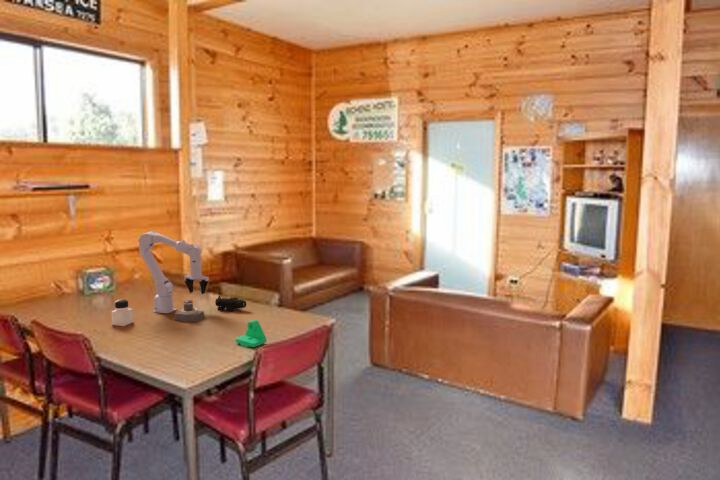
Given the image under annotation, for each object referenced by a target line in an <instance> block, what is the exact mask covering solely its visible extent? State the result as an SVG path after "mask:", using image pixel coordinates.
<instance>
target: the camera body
mask: <svg viewBox="0 0 720 480" xmlns="http://www.w3.org/2000/svg"><path fill="white" fill-rule="evenodd" d="M202 319H205V311H203V310H198V308H197V307H193V311H184V308H182V309H180V311H178V312H175V313H174V321H177V322H178V321H179V322H189V323H197V322H198V321H201V320H202Z"/></svg>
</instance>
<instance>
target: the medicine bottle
mask: <svg viewBox="0 0 720 480" xmlns="http://www.w3.org/2000/svg"><path fill="white" fill-rule="evenodd" d="M132 323H134V309H133V308H130V307H129V301H128V300H127V299H117V300H116V301H114V310H111V325H112V326H118V327H126V326H127V325H131V324H132Z"/></svg>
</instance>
